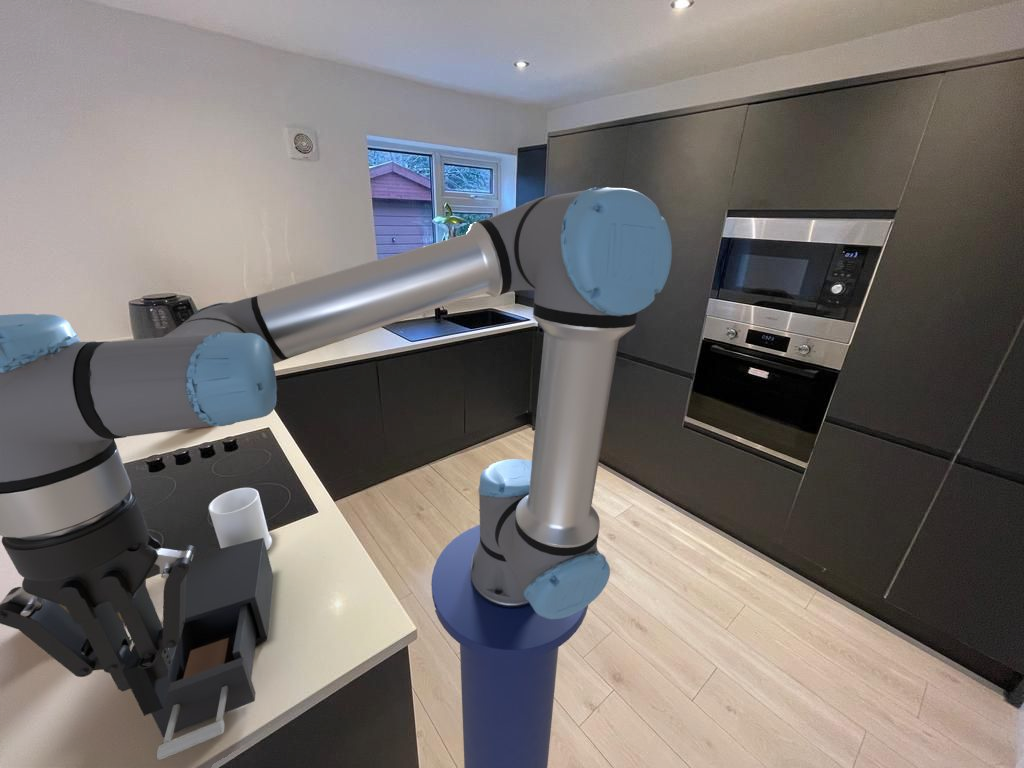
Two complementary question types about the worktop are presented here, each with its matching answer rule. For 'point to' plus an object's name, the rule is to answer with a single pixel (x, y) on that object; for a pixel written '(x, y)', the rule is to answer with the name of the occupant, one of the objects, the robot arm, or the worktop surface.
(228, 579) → the cabinet
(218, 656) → the block
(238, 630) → the drawer
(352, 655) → the worktop surface
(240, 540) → the mug
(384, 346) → the worktop surface
